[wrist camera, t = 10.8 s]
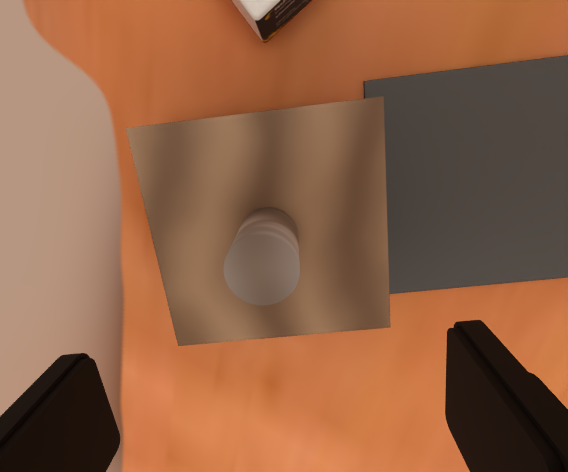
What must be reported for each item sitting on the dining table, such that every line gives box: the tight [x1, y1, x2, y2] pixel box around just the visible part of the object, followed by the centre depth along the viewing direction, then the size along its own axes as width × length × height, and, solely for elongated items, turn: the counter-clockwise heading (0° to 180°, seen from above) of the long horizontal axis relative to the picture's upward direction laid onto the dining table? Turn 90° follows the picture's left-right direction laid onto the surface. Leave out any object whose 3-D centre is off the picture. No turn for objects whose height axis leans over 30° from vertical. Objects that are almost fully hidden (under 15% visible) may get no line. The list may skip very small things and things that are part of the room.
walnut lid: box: [126, 96, 390, 346], centre depth 22 cm, size 16×16×7 cm
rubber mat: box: [364, 55, 568, 294], centre depth 31 cm, size 19×19×1 cm
